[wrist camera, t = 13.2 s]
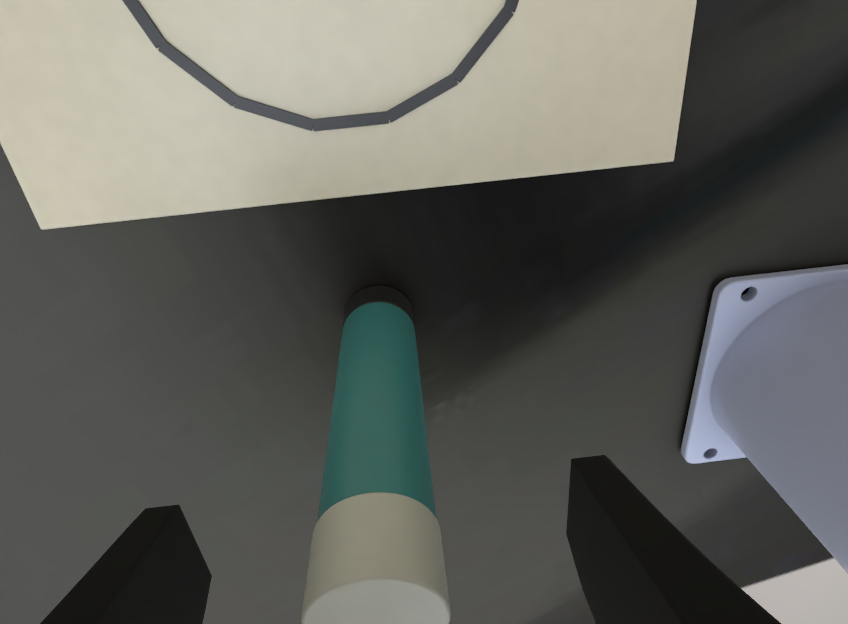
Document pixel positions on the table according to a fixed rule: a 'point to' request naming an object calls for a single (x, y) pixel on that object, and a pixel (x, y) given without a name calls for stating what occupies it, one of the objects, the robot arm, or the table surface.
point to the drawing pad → (325, 97)
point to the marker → (377, 481)
